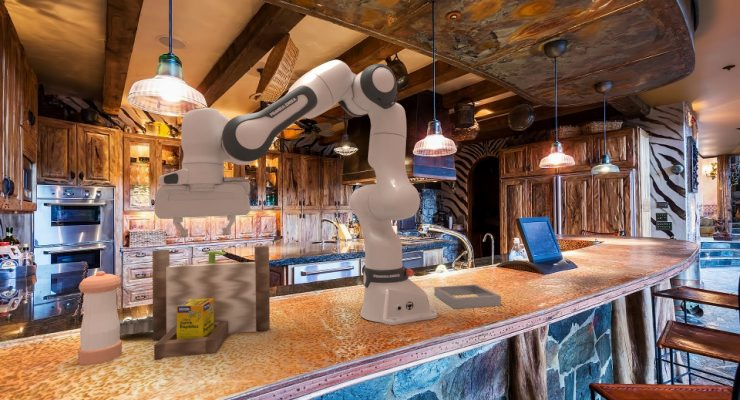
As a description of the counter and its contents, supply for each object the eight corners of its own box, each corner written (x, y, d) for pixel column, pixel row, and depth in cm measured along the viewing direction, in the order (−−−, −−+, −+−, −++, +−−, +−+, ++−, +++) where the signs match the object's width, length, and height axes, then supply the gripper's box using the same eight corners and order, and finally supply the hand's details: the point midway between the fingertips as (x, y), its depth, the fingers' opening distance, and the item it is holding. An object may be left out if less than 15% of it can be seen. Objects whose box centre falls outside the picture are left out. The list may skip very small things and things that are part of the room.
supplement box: (203, 354, 74) (203, 305, 75) (175, 355, 74) (175, 305, 74) (214, 343, 80) (214, 297, 81) (189, 344, 80) (189, 298, 80)
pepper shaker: (72, 372, 67) (71, 276, 67) (85, 357, 74) (85, 270, 74) (116, 365, 70) (116, 272, 70) (125, 351, 77) (125, 267, 77)
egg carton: (168, 326, 89) (168, 310, 90) (151, 332, 82) (151, 314, 83) (127, 330, 89) (127, 314, 89) (106, 337, 81) (106, 319, 82)
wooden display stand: (270, 328, 90) (269, 245, 90) (263, 354, 74) (262, 254, 75) (156, 337, 85) (156, 249, 85) (123, 367, 69) (122, 259, 70)
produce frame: (476, 292, 123) (475, 284, 123) (500, 305, 107) (500, 295, 107) (434, 295, 120) (434, 287, 120) (453, 309, 104) (453, 299, 104)
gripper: (252, 177, 84) (253, 232, 84) (162, 179, 81) (164, 237, 80) (247, 175, 78) (249, 235, 78) (150, 177, 74) (152, 240, 74)
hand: (205, 236), depth 79 cm, fingers open, 8 cm apart
